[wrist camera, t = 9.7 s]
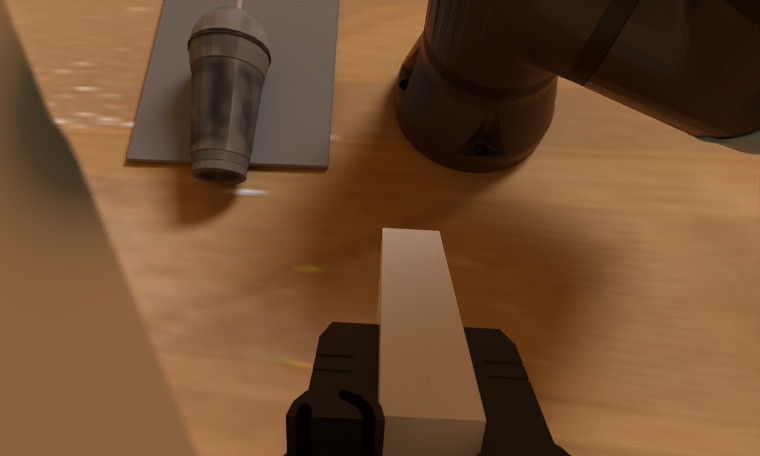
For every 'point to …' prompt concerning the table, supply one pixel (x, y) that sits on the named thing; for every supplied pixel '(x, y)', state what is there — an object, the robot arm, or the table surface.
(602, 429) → the table surface
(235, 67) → the beverage cup
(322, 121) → the rubber mat
